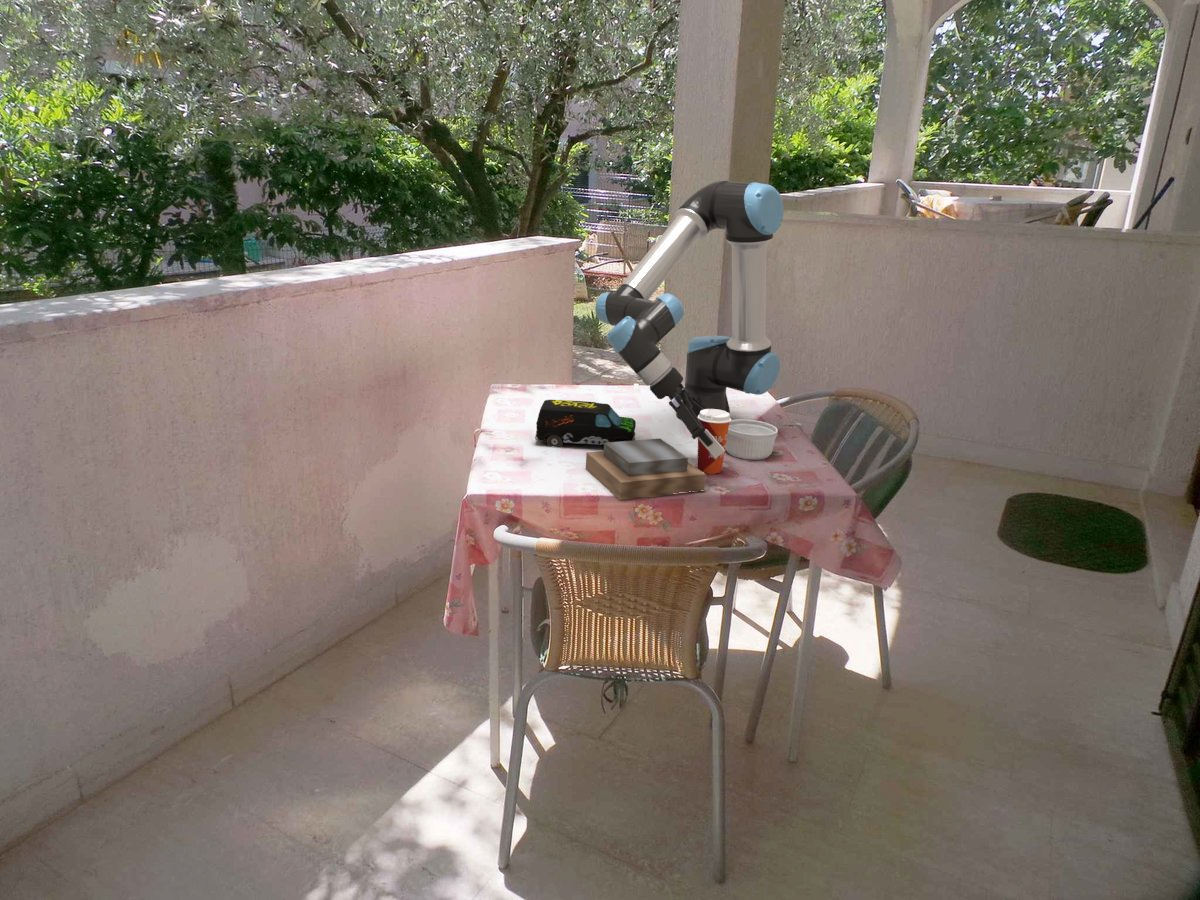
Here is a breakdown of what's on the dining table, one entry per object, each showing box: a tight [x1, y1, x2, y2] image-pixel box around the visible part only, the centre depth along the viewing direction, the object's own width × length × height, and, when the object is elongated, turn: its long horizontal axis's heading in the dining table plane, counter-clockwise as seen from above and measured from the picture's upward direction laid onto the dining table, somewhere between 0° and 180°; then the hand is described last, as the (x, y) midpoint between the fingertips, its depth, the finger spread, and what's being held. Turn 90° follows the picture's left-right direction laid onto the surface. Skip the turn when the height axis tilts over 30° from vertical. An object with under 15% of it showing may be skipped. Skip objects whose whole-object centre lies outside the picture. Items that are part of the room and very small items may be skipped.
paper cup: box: [697, 409, 732, 475], centre depth 197 cm, size 8×8×14 cm
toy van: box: [534, 399, 637, 448], centre depth 212 cm, size 11×25×10 cm, turn 86°
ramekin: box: [725, 418, 779, 461], centre depth 212 cm, size 13×13×7 cm
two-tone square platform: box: [585, 438, 707, 501], centre depth 190 cm, size 20×20×7 cm
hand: (720, 445), depth 197 cm, fingers open, 13 cm apart
